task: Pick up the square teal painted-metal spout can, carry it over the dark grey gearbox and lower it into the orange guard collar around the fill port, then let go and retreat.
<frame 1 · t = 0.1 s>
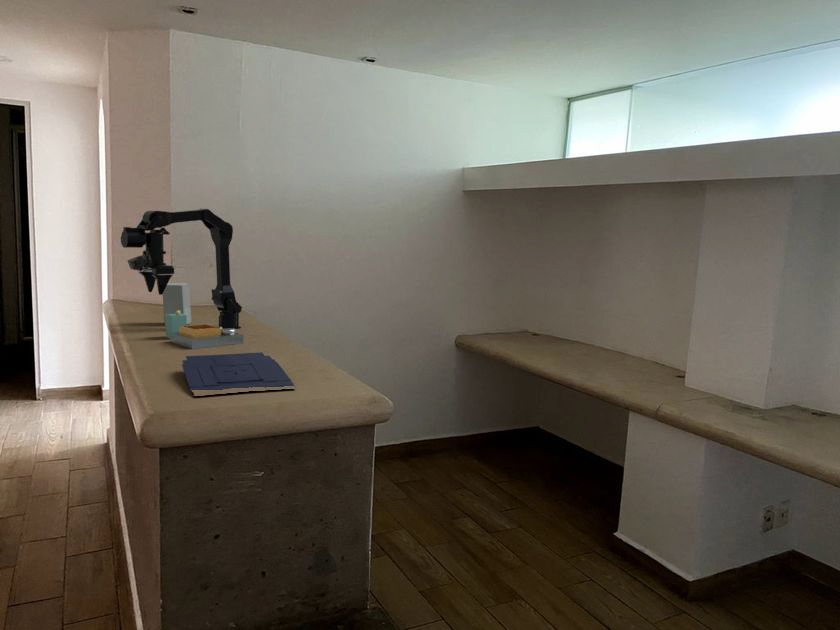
hand: (155, 293, 224), 15 cm above the countertop, fingers open, 9 cm apart
gearbox: (207, 342, 215), on the countertop
dark blue book: (235, 381, 167), on the countertop
spout can: (176, 337, 222), on the countertop
skincare box: (177, 324, 250), on the countertop
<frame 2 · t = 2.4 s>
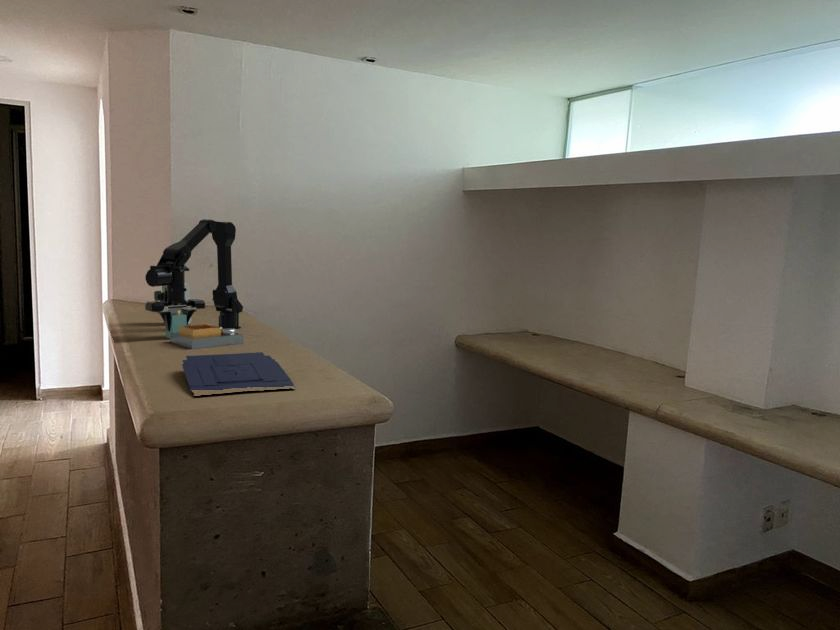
hand: (176, 330, 222), 3 cm above the countertop, fingers closed on spout can, 5 cm apart
spout can: (176, 337, 222), on the countertop, touching gripper
everything else where it was.
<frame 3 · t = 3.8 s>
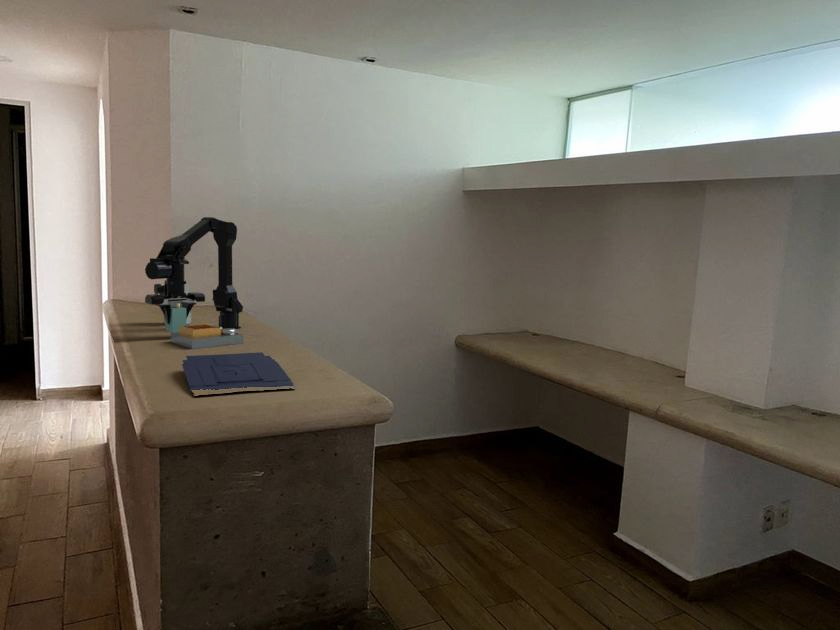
hand: (176, 323, 222), 5 cm above the countertop, fingers closed on spout can, 5 cm apart
spout can: (176, 330, 222), point 2 cm above the countertop, touching gripper
everything else where it was.
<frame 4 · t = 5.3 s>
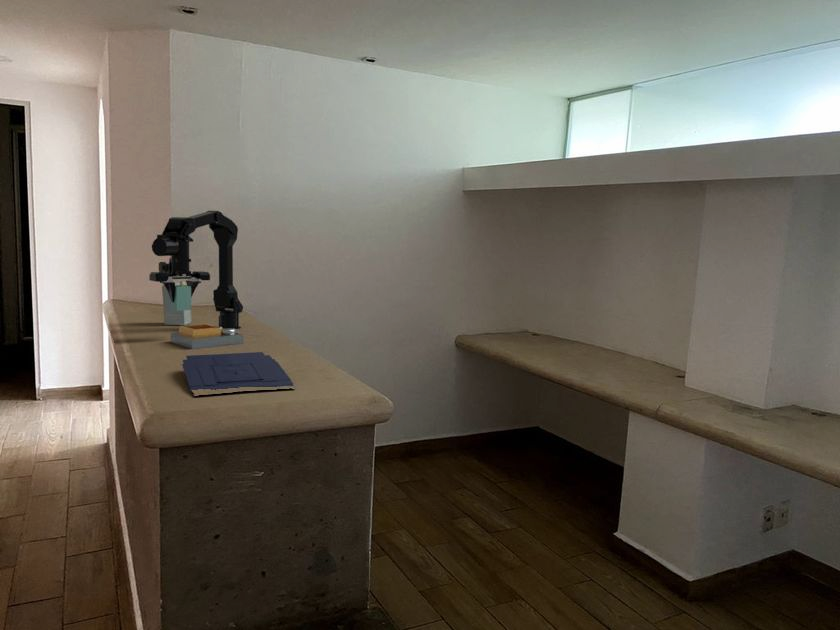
hand: (180, 301, 219), 13 cm above the countertop, fingers closed on spout can, 5 cm apart
spout can: (180, 309, 219), point 10 cm above the countertop, touching gripper
everything else where it was.
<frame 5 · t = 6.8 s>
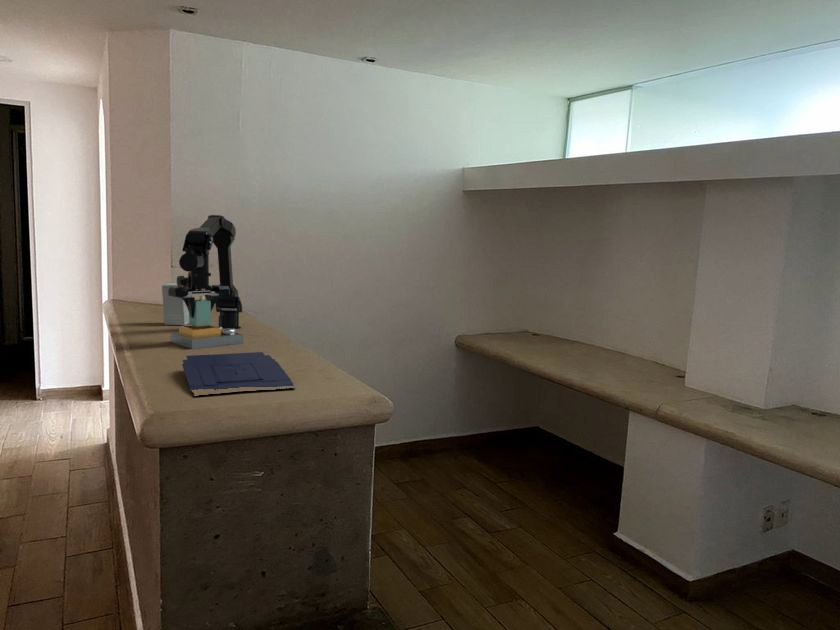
hand: (200, 317, 213), 9 cm above the countertop, fingers closed on spout can, 5 cm apart
spout can: (200, 324, 213), point 6 cm above the countertop, touching gripper
everything else where it was.
when the fingers open (6 cm above the countertop, at t = 8.0 s): spout can stays where it is, resting on gearbox.
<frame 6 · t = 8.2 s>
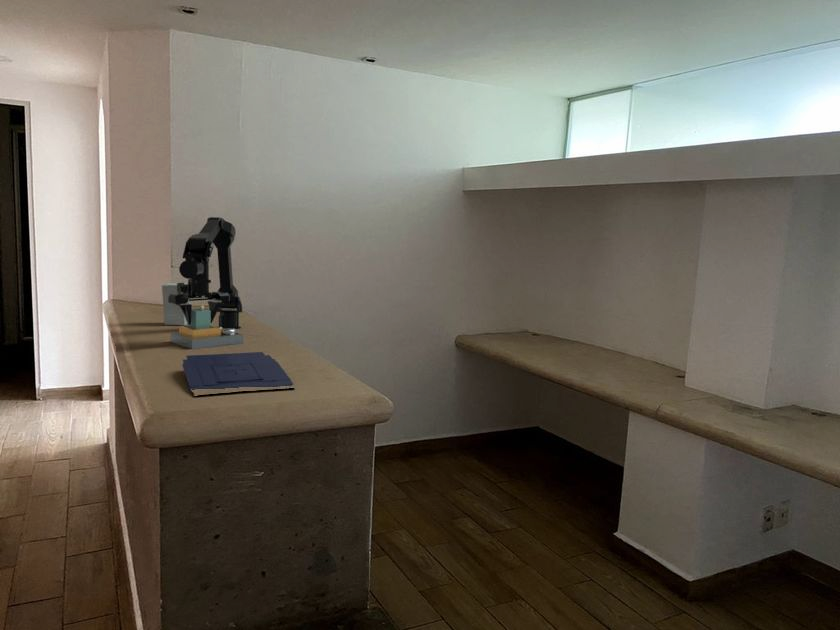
hand: (200, 323, 213), 6 cm above the countertop, fingers open, 7 cm apart
spout can: (200, 334, 213), point 3 cm above the countertop, touching gearbox
everything else where it was.
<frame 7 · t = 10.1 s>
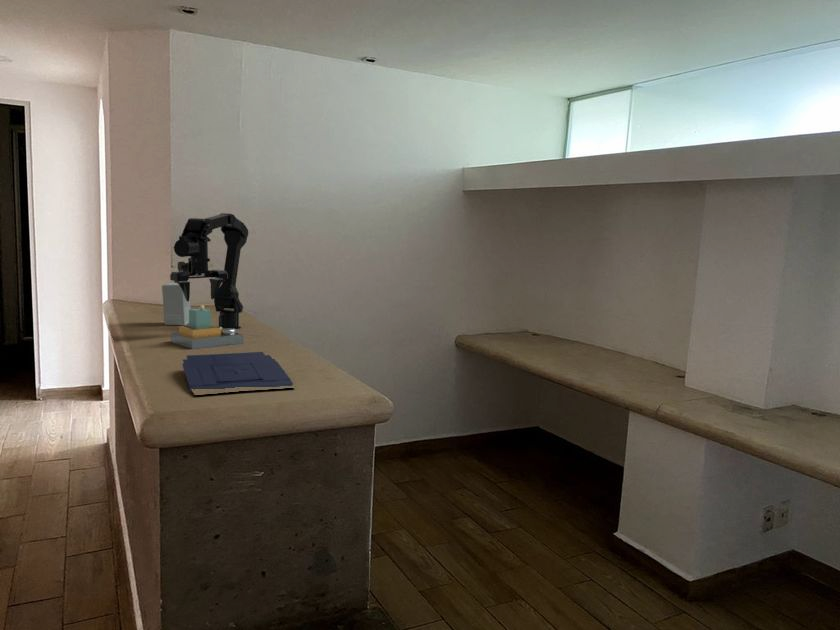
hand: (200, 300, 226), 13 cm above the countertop, fingers open, 9 cm apart
nothing on the countertop moved.
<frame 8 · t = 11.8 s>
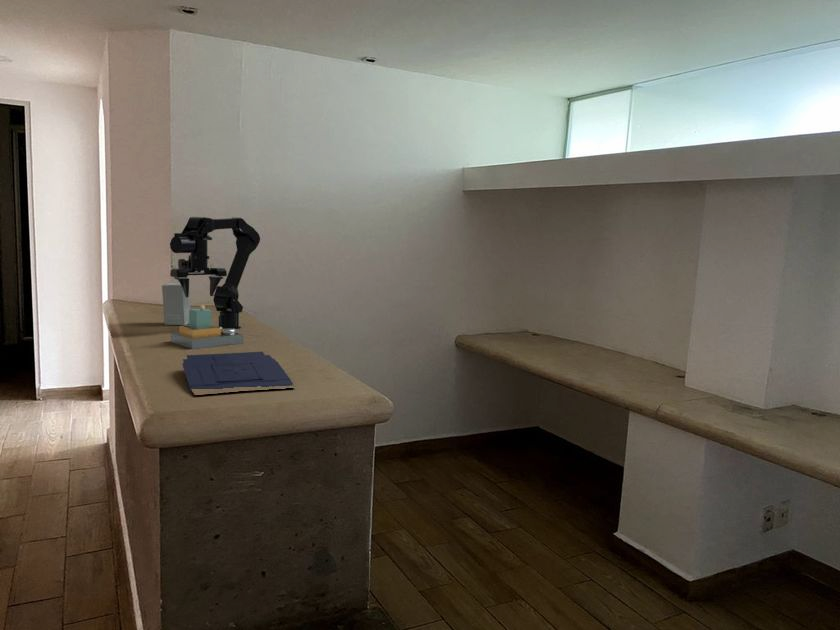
hand: (199, 296, 232), 13 cm above the countertop, fingers open, 9 cm apart
nothing on the countertop moved.
at the end: spout can 0.0 cm from the target spot on the gearbox, point 3.1 cm above the gearbox's base; spout can tilted 1°; the gripper is holding nothing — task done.
